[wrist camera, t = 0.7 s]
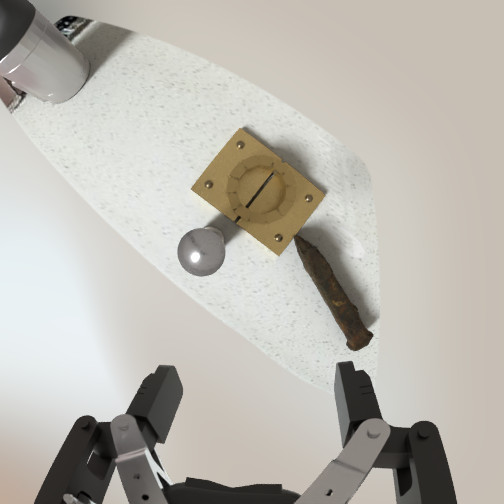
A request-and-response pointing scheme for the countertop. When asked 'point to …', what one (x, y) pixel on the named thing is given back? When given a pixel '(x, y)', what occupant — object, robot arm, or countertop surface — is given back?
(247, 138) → the brass socket plate
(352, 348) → the hand tool
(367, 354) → the countertop surface
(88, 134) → the countertop surface
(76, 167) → the countertop surface
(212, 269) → the hinge pin
